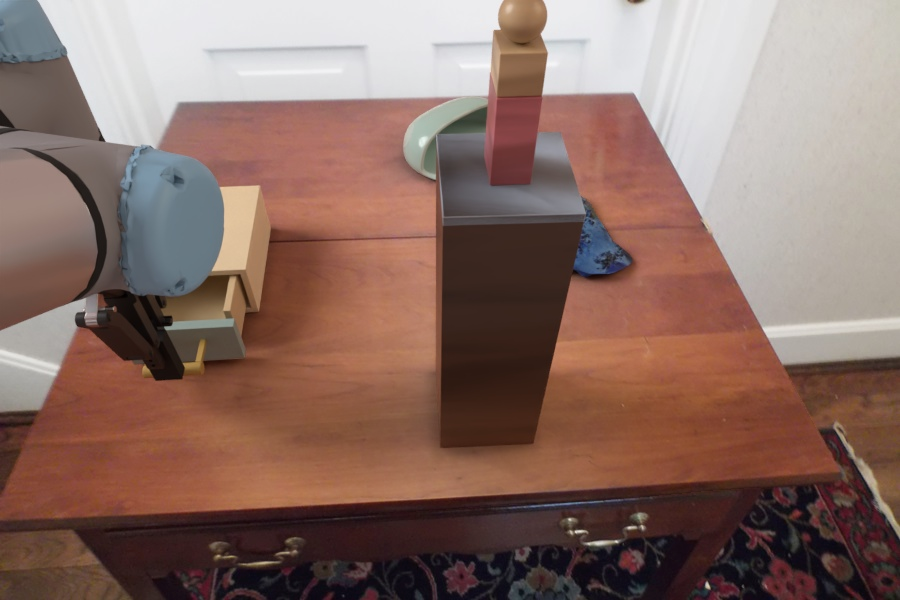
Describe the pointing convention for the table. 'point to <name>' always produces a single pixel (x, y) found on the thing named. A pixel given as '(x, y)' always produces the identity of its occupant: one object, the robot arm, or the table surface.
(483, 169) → the stand
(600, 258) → the rock
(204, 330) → the drawer
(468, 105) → the planter
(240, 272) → the cabinet
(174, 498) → the table surface
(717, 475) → the table surface
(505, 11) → the doll
